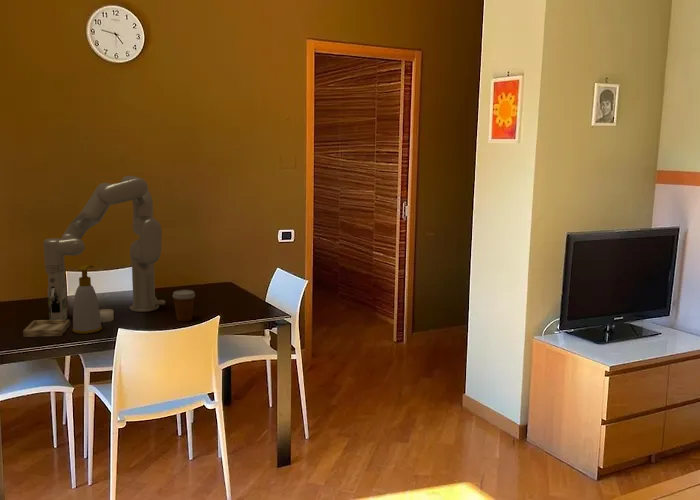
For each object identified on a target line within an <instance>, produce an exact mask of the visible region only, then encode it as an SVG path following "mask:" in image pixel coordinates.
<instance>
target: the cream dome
mask: <svg viewBox="0 0 700 500" xmlns="http://www.w3.org/2000/svg"><path fill="white" fill-rule="evenodd" d="M99 311H100V319H101V323H110V322H113V321H114V320H115V318H114V317H115V316H114V309H112V308H101V309H99Z"/></svg>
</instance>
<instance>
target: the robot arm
mask: <svg viewBox="0 0 700 500" xmlns="http://www.w3.org/2000/svg"><path fill="white" fill-rule="evenodd" d="M148 188H149V185H148V183H147V181H146V180H145V179H143V178H141V177H138V176H135V175H125V176H123V177H122V178H121V179H120V182H116V183H109V182H102V183H99V184H98V185H97V187H96V188H95V190H94V191H93V193H92V194H91V196H90V197H89V199H88V201H87V202H86V203H85V205H84V207H83V209H82V210H81V211H80V212H79V213H78V214H77V216H76V217H75V218H73V220H72V221H71V222H70V223H69V225H68V226H67V227H66V229H65V231H64V232H63V233H62V236H61V238H58V237H52V238H46V239H44V240H43V243H42V244H43V257H44V269H45V273H46V274H47V293H48V292H49V296H50V298H51V309H52V313H59V312H60V303H59V296H62V295H63V288H64V287H65V286H66V287H67V284H66V277H65V276H66V275H65V272H66V267H65V266H66V263H65V256H80V255H81V254H82V253H83V252H84V251H85V247H86V246H85V245H86V244H85V243H84V241H83V240H82V239H83V237H84V235H85V234H86V233H87V231H88V230H90V229H91V228H92V227H94V226H96V225H98V224H100V223H101V221H102V219H103V218H104V217H105V215H106V213H107V212H108V211H109V208H110V206H111V205H119V204H121V203H126V202H130V201H131V202H132V230H133V233H134V234H135V235H137V236H139V238H138V239H136V240H134V241H133V242H132V243H131V245H130V248H129V256H130V262H131V278H132V280H131V281H132V302H133V303H132V304H131V305H130V306H129V310H130V311H132V312H139V313H140V312H141V313H142V312H143V313H144V312H145V313H146V312H147V313H148V312H154V311H156V310H158V309H159V308H160V306H161V305H162V306H165V305H166V300H163V299H157V296H156V290H155V287H156V286H155V281H156V280H155V265H154V264H156V263H157V262H158V261H159V259H160V258H161V253H162V241H163V240H162V234H163V230H162V226H161V223H160V221H158V220H157V218H154V201H153V197H152V194H151V192H150V190H149V189H148ZM50 294H51V295H50ZM56 294H57V296H55V295H56ZM56 297H57V300H56Z"/></svg>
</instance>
